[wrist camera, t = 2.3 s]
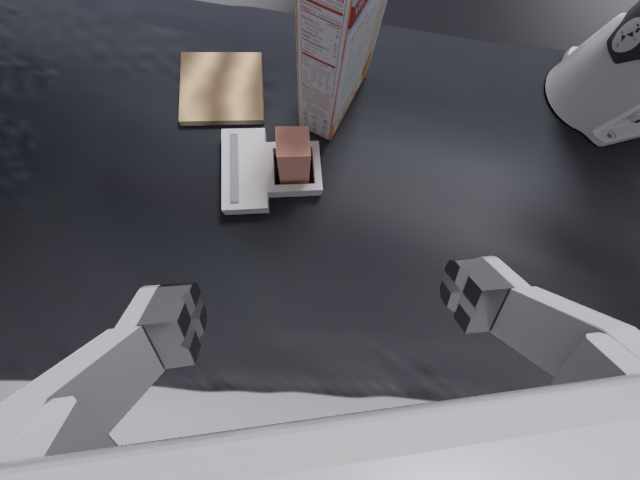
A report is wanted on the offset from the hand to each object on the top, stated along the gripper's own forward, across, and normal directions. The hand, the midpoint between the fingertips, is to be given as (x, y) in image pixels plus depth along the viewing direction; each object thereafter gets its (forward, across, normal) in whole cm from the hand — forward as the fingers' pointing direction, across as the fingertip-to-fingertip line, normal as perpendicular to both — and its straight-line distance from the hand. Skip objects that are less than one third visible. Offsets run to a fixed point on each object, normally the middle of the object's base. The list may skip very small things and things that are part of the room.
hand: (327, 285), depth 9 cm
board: (+43, -10, +3) cm, 44 cm away
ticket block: (+33, 0, -7) cm, 33 cm away
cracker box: (+41, +7, +1) cm, 42 cm away
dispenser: (+33, -3, -7) cm, 34 cm away
